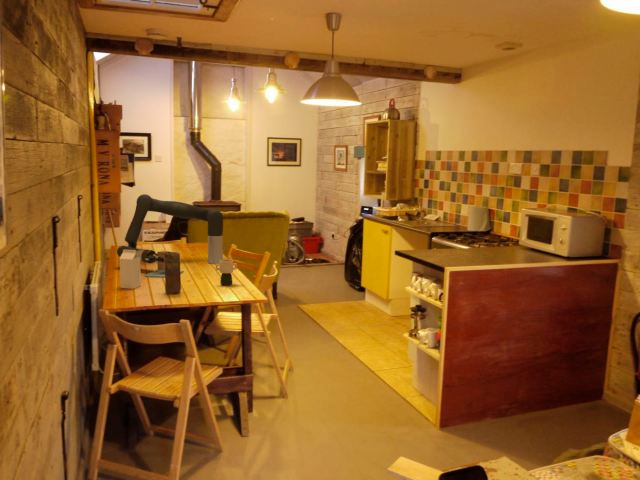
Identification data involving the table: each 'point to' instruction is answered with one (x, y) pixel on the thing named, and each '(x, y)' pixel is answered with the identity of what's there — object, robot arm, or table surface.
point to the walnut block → (161, 264)
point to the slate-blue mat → (158, 274)
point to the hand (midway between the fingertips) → (167, 259)
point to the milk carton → (130, 269)
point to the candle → (172, 272)
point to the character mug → (226, 270)
